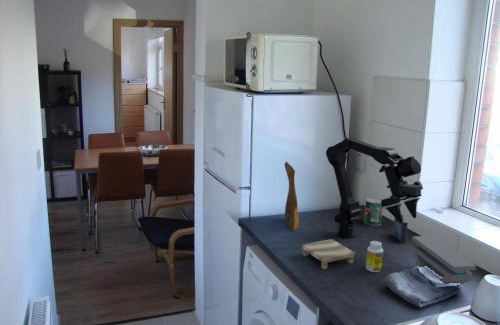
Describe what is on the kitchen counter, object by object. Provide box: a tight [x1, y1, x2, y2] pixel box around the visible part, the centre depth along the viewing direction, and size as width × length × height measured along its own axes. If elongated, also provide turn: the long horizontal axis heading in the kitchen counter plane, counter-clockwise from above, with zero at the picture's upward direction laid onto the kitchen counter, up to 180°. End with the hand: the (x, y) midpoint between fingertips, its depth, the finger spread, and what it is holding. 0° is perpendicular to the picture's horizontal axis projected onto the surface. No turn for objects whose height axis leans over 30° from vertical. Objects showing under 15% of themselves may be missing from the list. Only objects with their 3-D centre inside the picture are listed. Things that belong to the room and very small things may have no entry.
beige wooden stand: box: [301, 238, 356, 270], centre depth 171 cm, size 14×14×4 cm
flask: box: [392, 214, 409, 243], centre depth 192 cm, size 9×3×11 cm, turn 8°
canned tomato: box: [363, 197, 384, 227], centre depth 209 cm, size 8×8×11 cm
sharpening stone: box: [411, 235, 477, 286], centre depth 157 cm, size 25×8×11 cm, turn 11°
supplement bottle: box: [365, 240, 384, 273], centre depth 162 cm, size 6×6×10 cm
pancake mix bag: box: [284, 161, 299, 232], centre depth 202 cm, size 7×19×28 cm, turn 179°
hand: (408, 220), depth 170 cm, fingers open, 9 cm apart
